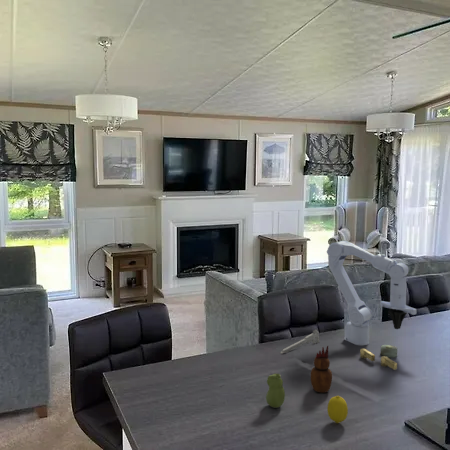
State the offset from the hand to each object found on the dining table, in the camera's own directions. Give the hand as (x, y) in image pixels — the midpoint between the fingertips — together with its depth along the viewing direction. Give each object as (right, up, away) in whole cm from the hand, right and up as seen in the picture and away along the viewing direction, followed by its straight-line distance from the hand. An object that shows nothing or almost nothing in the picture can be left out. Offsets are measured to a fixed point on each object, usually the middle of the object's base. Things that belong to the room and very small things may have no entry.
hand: (397, 328), depth 173 cm
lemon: (-36, -16, -48) cm, 62 cm away
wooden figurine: (-36, -14, -29) cm, 48 cm away
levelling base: (-9, -11, -6) cm, 15 cm away
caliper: (-37, -10, +7) cm, 39 cm away
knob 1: (-14, -10, -8) cm, 19 cm away
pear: (-52, -15, -39) cm, 67 cm away
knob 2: (-9, -11, -15) cm, 21 cm away
